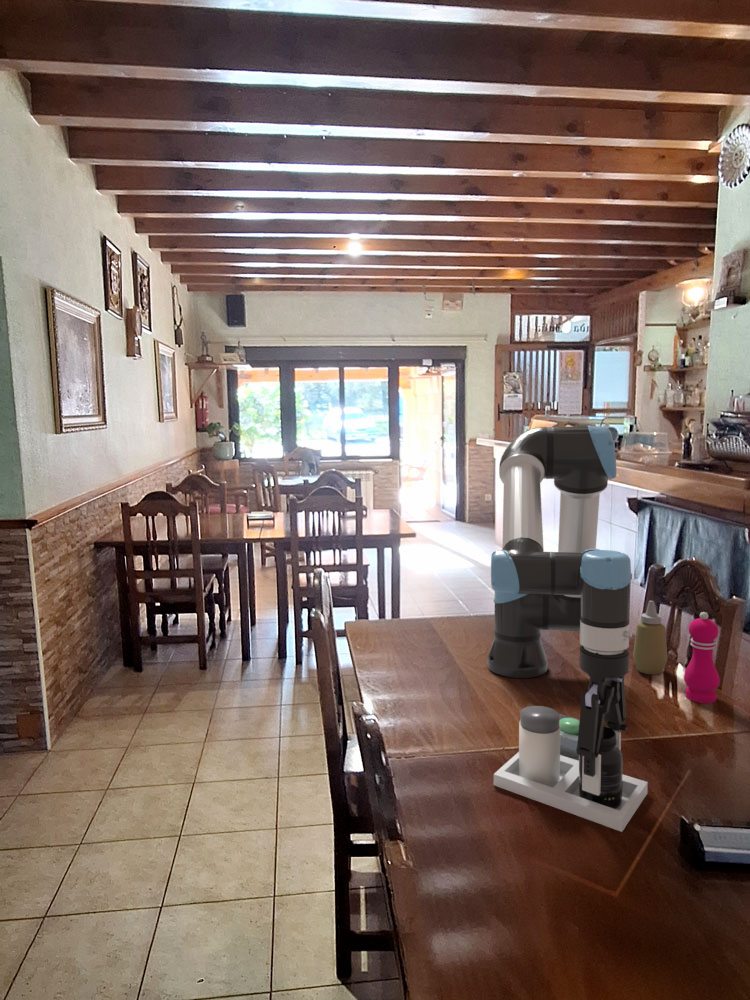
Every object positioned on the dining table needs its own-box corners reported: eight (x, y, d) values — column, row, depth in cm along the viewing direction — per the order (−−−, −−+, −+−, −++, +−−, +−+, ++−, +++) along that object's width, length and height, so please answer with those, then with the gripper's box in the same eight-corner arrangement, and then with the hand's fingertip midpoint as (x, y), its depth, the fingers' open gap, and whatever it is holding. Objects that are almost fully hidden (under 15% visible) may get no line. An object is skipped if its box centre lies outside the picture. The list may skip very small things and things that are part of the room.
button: (555, 739, 127) (556, 723, 127) (564, 731, 130) (564, 716, 130) (575, 745, 125) (576, 729, 125) (583, 736, 128) (584, 721, 128)
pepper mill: (723, 705, 145) (726, 617, 142) (687, 703, 146) (691, 616, 144) (713, 692, 152) (716, 608, 149) (679, 690, 153) (682, 607, 151)
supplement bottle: (572, 790, 112) (572, 723, 110) (610, 786, 113) (610, 720, 111) (589, 814, 105) (589, 743, 104) (630, 810, 106) (630, 739, 104)
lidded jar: (512, 781, 115) (512, 715, 114) (529, 764, 121) (529, 702, 119) (549, 794, 111) (550, 726, 110) (566, 776, 116) (567, 711, 115)
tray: (493, 787, 114) (493, 774, 114) (526, 757, 124) (526, 744, 124) (621, 834, 101) (622, 819, 100) (647, 796, 111) (647, 782, 110)
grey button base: (538, 749, 127) (538, 729, 127) (557, 731, 134) (557, 713, 134) (583, 763, 122) (583, 743, 121) (600, 744, 129) (601, 725, 128)
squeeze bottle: (665, 666, 168) (667, 598, 166) (668, 678, 160) (670, 606, 158) (631, 663, 170) (633, 596, 168) (633, 675, 163) (634, 604, 161)
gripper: (603, 673, 95) (601, 818, 98) (648, 633, 112) (644, 758, 115) (554, 662, 100) (553, 801, 103) (604, 626, 117) (602, 746, 119)
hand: (601, 778), depth 109 cm, fingers open, 9 cm apart
